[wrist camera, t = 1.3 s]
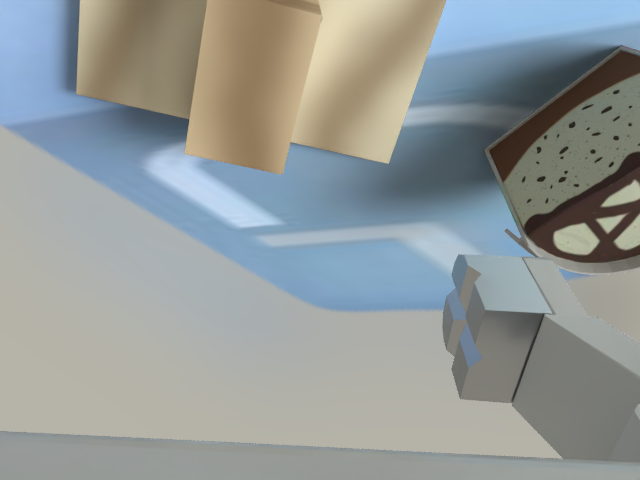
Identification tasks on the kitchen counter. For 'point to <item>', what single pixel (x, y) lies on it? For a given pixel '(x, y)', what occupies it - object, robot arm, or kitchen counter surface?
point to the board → (322, 80)
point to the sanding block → (251, 80)
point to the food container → (579, 171)
